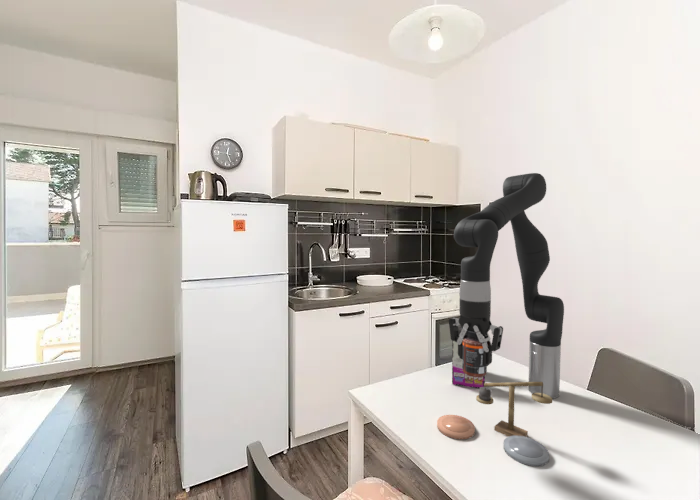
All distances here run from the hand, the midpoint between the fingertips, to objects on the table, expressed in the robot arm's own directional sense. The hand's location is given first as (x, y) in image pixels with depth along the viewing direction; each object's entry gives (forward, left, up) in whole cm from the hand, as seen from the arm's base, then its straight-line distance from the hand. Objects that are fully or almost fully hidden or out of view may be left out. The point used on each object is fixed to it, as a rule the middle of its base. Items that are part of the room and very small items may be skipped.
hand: (474, 361), depth 87 cm
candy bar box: (-29, -18, -21) cm, 40 cm away
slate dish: (-5, +11, -21) cm, 24 cm away
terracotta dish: (-1, -6, -21) cm, 22 cm away
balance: (-11, +5, -21) cm, 24 cm away
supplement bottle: (0, 0, -3) cm, 3 cm away
